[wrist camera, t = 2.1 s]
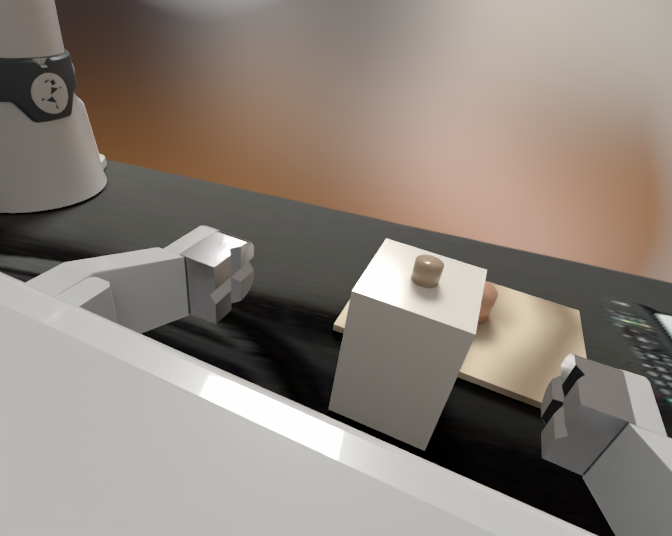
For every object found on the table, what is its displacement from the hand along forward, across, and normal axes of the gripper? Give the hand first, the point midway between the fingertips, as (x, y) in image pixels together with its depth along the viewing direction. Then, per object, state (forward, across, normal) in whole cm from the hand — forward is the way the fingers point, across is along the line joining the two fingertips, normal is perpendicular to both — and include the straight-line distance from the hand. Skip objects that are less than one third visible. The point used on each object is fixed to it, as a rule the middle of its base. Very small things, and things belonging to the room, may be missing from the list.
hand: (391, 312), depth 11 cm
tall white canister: (+12, 0, -17) cm, 21 cm away
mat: (+23, +4, -17) cm, 29 cm away
